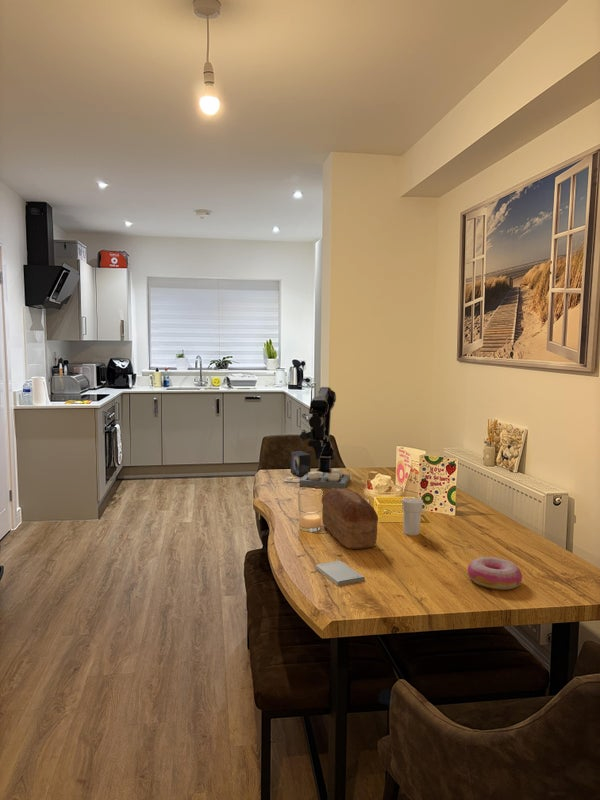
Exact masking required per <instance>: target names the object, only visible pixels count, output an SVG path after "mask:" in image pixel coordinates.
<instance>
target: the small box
mask: <svg viewBox="0 0 600 800" xmlns="http://www.w3.org/2000/svg"><path fill="white" fill-rule="evenodd" d="M307 472H311V454H310V453H307V452H306V451H302V450H297V451H291V452H290V473H292V474H294V475H295V476H296V477H299V478H302V477H303V476H304V475H305V474H306V473H307Z"/></svg>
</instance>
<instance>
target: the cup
mask: <svg viewBox="0 0 600 800" xmlns="http://www.w3.org/2000/svg"><path fill="white" fill-rule="evenodd" d="M401 503H402V505H401V506H402V512H403V534H404V535H407V536H418V535H420V529H421V528H420V527H421V519H422V518H421V517H422V511H423V505H424V504H423V503H424V500H423V499H420V498H416V497H404V498H402V502H401Z"/></svg>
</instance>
